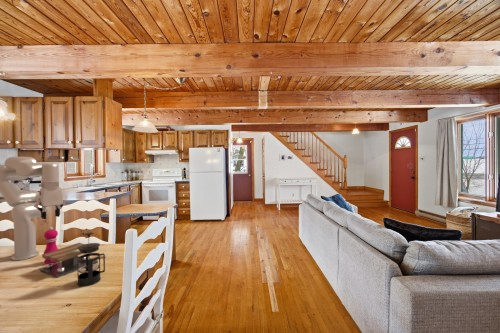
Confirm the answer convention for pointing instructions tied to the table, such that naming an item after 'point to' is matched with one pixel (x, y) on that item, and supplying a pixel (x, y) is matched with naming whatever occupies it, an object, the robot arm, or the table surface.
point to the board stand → (64, 267)
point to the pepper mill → (50, 243)
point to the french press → (89, 264)
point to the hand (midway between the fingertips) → (50, 217)
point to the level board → (63, 253)
